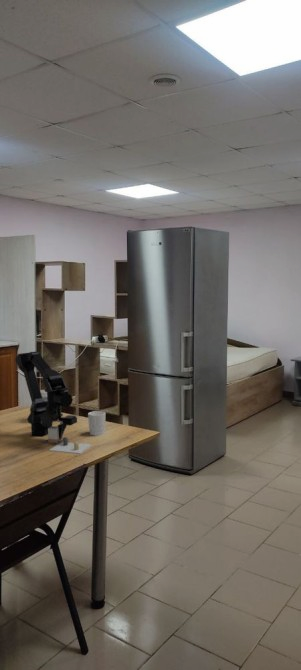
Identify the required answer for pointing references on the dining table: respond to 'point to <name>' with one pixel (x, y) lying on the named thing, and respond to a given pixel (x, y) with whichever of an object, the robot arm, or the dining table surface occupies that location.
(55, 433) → the sleeve
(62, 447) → the pin board
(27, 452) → the dining table surface
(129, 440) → the dining table surface
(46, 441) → the mat
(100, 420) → the white cup
